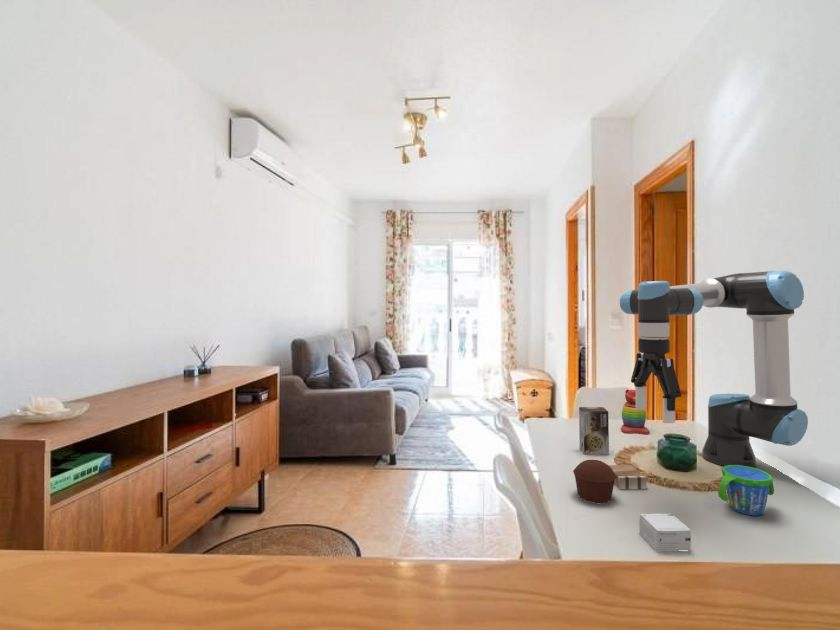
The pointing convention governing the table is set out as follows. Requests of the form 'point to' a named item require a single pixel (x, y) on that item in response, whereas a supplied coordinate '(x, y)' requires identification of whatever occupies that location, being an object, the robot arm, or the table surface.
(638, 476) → the brown thick block
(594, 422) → the coffee box
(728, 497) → the snack cup
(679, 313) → the robot arm
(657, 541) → the small box
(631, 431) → the stacking bear
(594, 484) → the muffin
